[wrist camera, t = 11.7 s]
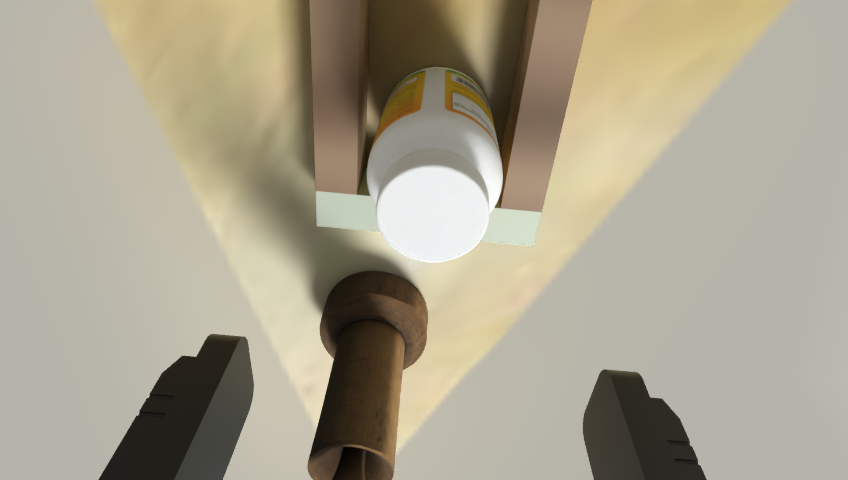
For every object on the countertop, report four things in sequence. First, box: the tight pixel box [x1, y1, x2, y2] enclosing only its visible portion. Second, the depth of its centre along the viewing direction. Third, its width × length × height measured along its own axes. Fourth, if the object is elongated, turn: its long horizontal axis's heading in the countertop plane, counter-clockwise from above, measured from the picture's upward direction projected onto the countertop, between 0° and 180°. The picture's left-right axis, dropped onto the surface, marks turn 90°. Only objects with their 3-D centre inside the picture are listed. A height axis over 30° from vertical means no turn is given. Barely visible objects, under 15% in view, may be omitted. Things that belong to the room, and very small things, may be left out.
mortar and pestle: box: [308, 272, 428, 480], centre depth 26 cm, size 7×6×18 cm
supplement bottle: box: [367, 67, 503, 262], centre depth 22 cm, size 5×5×10 cm
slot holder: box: [309, 0, 592, 246], centre depth 24 cm, size 12×11×3 cm
